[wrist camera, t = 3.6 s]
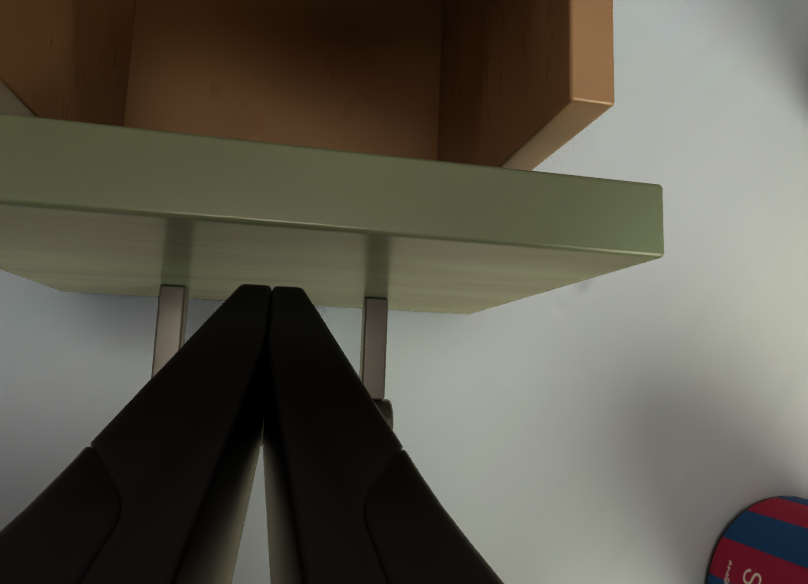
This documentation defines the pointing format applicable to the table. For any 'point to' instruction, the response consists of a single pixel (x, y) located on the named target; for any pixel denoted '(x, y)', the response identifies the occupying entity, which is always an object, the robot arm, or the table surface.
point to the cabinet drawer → (310, 154)
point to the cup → (765, 545)
